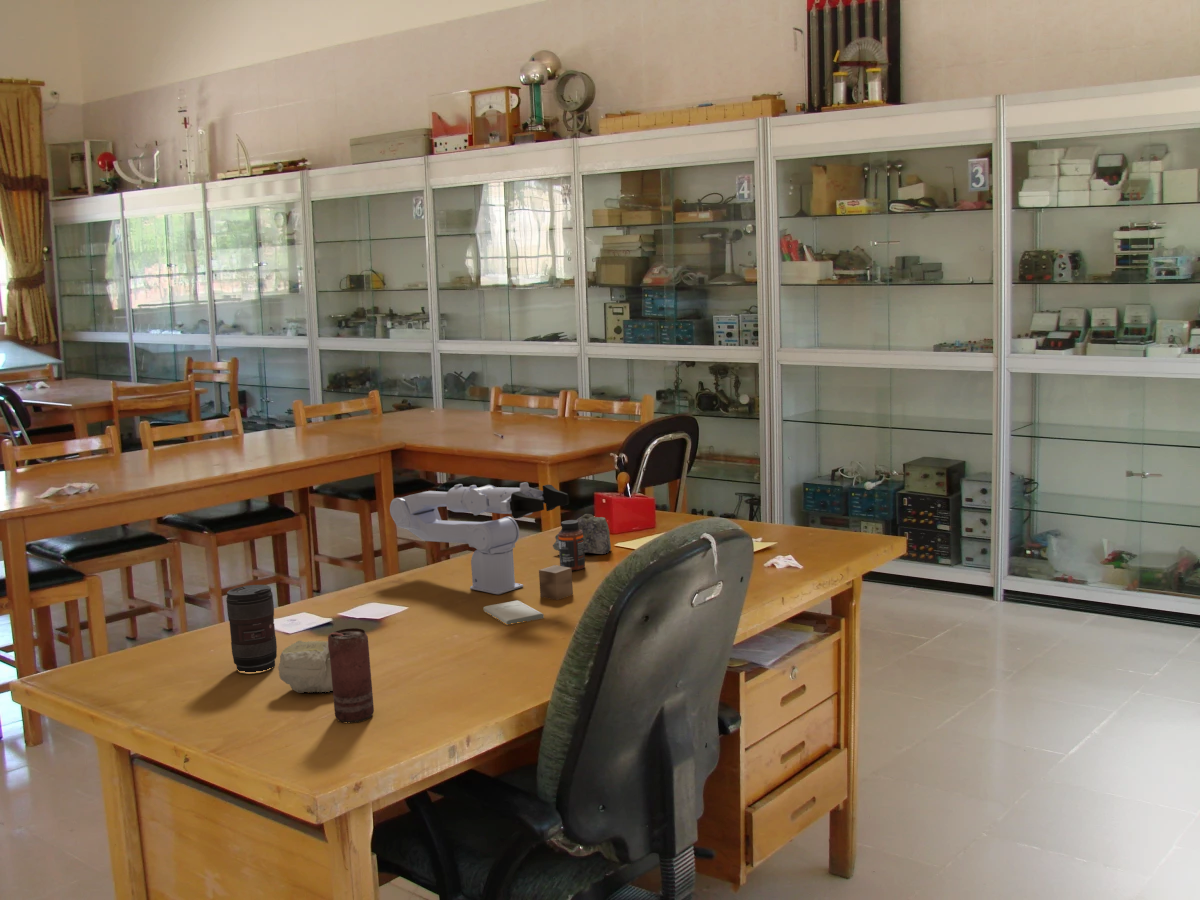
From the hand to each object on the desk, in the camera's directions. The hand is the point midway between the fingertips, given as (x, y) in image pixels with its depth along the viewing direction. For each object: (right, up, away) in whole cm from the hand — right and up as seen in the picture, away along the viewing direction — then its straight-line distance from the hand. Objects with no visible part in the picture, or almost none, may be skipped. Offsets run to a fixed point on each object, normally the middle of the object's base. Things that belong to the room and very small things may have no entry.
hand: (555, 502), depth 241 cm
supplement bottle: (+3, -17, +31) cm, 35 cm away
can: (-30, -32, -56) cm, 72 cm away
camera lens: (-54, -29, -30) cm, 68 cm away
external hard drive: (-8, -24, -4) cm, 25 cm away
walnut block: (0, -21, +8) cm, 22 cm away
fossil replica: (-39, -31, -43) cm, 66 cm away
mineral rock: (+6, -15, +46) cm, 48 cm away
